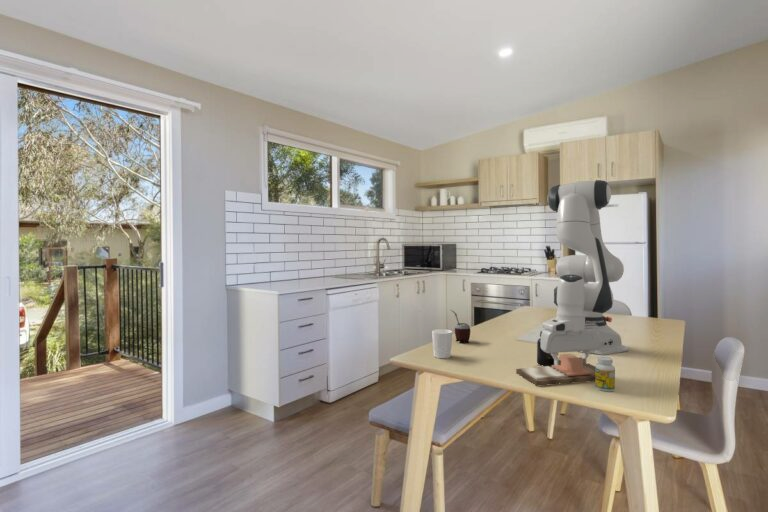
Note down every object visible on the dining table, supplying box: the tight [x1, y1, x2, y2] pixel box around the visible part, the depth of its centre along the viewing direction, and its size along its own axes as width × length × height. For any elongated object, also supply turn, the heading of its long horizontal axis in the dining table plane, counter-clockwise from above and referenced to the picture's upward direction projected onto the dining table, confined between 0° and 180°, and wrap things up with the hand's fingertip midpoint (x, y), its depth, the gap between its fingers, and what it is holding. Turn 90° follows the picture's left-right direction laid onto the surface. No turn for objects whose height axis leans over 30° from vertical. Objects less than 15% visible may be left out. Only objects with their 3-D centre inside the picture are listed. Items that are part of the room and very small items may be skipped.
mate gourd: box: [450, 309, 471, 344], centre depth 190 cm, size 8×8×15 cm
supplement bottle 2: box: [594, 356, 616, 393], centre depth 130 cm, size 5×5×10 cm
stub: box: [552, 353, 591, 376], centre depth 143 cm, size 8×10×5 cm
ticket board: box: [515, 362, 596, 387], centre depth 143 cm, size 28×13×2 cm, turn 101°
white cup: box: [431, 328, 453, 359], centre depth 168 cm, size 8×8×10 cm
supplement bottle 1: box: [536, 330, 555, 367], centre depth 156 cm, size 7×7×12 cm
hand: (570, 364), depth 143 cm, fingers open, 8 cm apart
